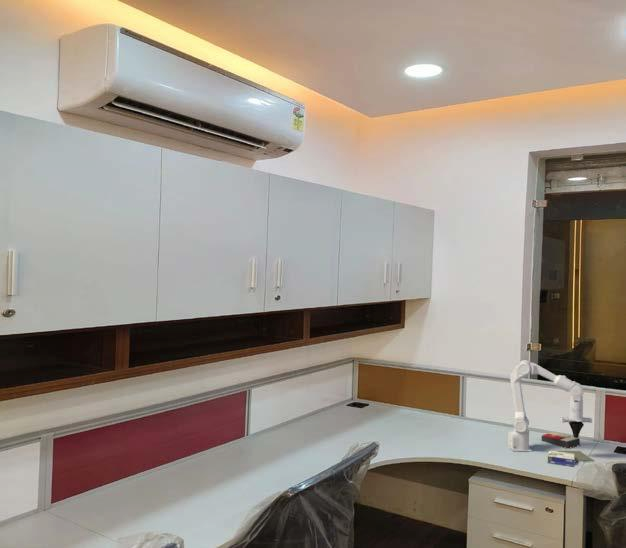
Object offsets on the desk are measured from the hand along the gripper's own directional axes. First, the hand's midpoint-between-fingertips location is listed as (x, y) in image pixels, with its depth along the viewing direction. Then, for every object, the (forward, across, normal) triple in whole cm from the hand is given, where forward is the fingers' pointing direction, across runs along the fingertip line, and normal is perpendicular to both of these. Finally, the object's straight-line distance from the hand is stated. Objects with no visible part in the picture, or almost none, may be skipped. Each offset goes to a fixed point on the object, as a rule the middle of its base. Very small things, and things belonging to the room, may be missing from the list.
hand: (575, 437), depth 269 cm
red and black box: (+10, +3, +22) cm, 24 cm away
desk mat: (+9, 0, 0) cm, 9 cm away
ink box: (+8, -7, -1) cm, 11 cm away
